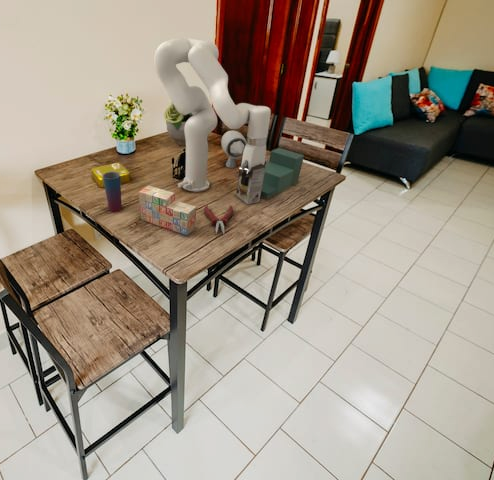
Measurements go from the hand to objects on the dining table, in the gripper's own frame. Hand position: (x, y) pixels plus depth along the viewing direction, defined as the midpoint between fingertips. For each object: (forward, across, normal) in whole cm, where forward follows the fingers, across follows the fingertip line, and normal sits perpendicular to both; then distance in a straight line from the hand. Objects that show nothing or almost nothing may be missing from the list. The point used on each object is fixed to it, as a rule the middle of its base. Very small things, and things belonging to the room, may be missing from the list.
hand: (251, 181), depth 139 cm
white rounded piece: (+8, -20, -26) cm, 34 cm away
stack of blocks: (+8, +39, -9) cm, 41 cm away
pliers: (+8, +24, +2) cm, 25 cm away
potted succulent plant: (+7, -27, -68) cm, 74 cm away
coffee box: (+8, +1, 0) cm, 8 cm away
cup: (+7, +47, -32) cm, 58 cm away
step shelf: (+8, -17, -1) cm, 19 cm away
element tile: (+7, +32, -57) cm, 66 cm away
